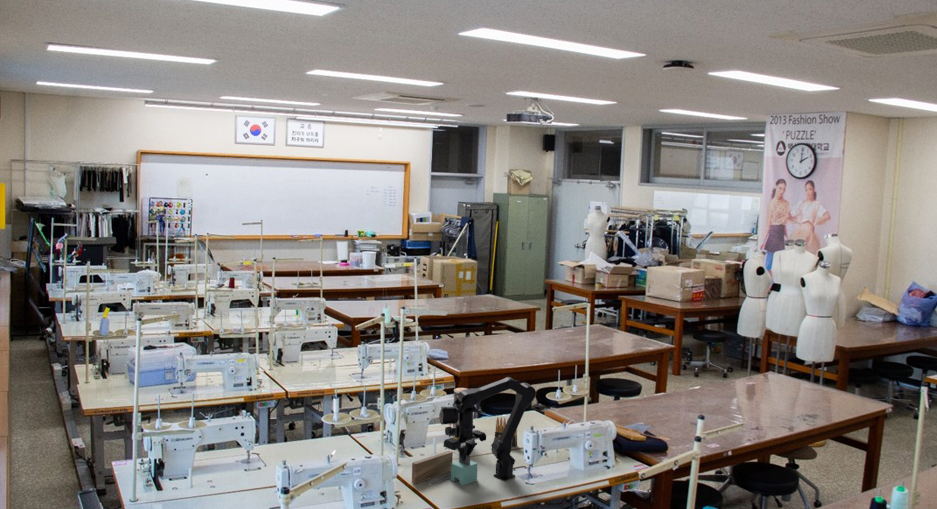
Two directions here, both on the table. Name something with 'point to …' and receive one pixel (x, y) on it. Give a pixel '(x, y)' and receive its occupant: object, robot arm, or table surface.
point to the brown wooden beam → (432, 468)
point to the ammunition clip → (501, 427)
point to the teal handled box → (464, 470)
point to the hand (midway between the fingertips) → (464, 460)
